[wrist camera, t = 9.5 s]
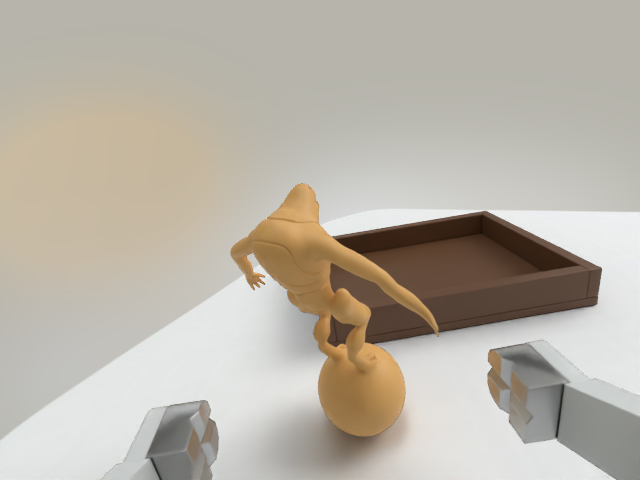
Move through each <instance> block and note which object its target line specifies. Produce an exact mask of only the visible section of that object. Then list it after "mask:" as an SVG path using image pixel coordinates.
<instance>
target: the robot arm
mask: <svg viewBox="0 0 640 480" xmlns="http://www.w3.org/2000/svg"><path fill="white" fill-rule="evenodd" d="M488 362H489V363H490V365H491V366H492V368H491V370H490V371H489V372H488V386H489V390H490V393H491V395H492V397H493V399H494V401H495V403H496V404H497V406H498V407H499V408H500V409H501V410H503V411H505V412H507V413H509V423H510V424H511V425H512V427H513V428H514V430H515V431H516V432H517V434H518V435H519V437H520V438H521V439H522V441H523V442H524V444H526V443H532V442H539V441H546V440H552V439H557V441H559V442H560V443H562V444H563V445H565V446H566V447H568V448H569V449H571V450H572V451H574V452H575V453H577V454H578V455H580V456H581V457H583V458H584V459H586V460H587V461H589V462H590V463H592V464H593V465H595V466H596V467H598V468H599V469H601V470H602V471H604V472H605V473H607V474H609V475H610V476H612V477H613V478H615V479H616V480H640V396H639V395H636V394H634V393H631V392H629V391H626V390H624V389H621V388H619V387H616V386H613V385H611V384H608V383H606V382H603V381H601V380H598V379H589V378H588V377H587V376H586V375H584V374H583V373H582V372H581V371H580V370H579V369H578V368H576V367H575V366H574V365H573V364H572V363H571V362H570V361H569V360H567V359H566V358H565V357H564V356H563V355H562V354H561V353H559V352H558V351H557V350H556V349H555V348H554V347H553V346H551V345H550V344H549V343H548V342H546V341H544V340H538V341H533V342H528V343H524V344H519V345H513V346H508V347H502V348H497V349H492V350H490V351H489V353H488ZM210 412H211V409H210V406H209V404H208V401H205V400H202V401H195V402H188V403H182V404H175V405H170V406H165V407H158V408H152V409H151V410H150V411H149V412H148V413H147V415H146V417H145V419H144V421H143V423H142V425H141V427H140V429H139V431H138V433H137V435H136V437H135V439H134V441H133V443H132V445H131V447H130V449H129V451H128V453H127V455H126V457H125V459H124V461H123V463H120V464H116V465H115V466H114V467H113V468H112V469H111V470H110V471H109V472H108V473H107V474H106V475H104V476H103V477H102V478H101V479H100V480H212V476H213V475H212V472H211V470H210V466H211V465H212V464H213V462H214V461H215V460H216V458H217V453H218V441H219V436H218V430H217V426H216V423H215V422H214V421H213V420H211V419H210V418H209V416H210Z"/></svg>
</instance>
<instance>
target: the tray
mask: <svg viewBox="0 0 640 480" xmlns="http://www.w3.org/2000/svg"><path fill="white" fill-rule="evenodd" d="M332 238H334V239H335V240H336V241H337V242H339V243H340V244H341V245H343V246H345V247H346V248H348V249H351V250H353V251H355V252H357V253H359V254H360V255H362V256H364V257H365V258H367V259H368V260H370V261H371V262H373V263H374V264H376V265H377V266H378V267H380V268H381V269H383V270H384V271H386V272H387V273H388V274H389V275H390V276H391V277H392V278H393V279H394V281H395V282H396V283H397V284H398V285H400V286H402V287H404V288H405V289H407V290H408V291H410V292H411V293H412V294H414V295H415V296H416V297H417V298H418V299H419V300H420V301H421V302H422V303H423V304H424V305H425V306H426V307H427V308H428V309H429V311H430V312H431V314H432V315H433V317H434V319H435V321H436V324H437V326H438V329H439V330H438V332H440V331H446V330H452V329H458V328H463V327H469V326H475V325H481V324H486V323H492V322H498V321H504V320H509V319H515V318H521V317H527V316H532V315H538V314H544V313H550V312H555V311H561V310H567V309H573V308H578V307H584V306H590V305H596V304H597V301H598V292H599V286H600V279H601V272H602V268H600V267H598V266H596V265H594V264H592V263H590V262H588V261H586V260H584V259H582V258H580V257H578V256H576V255H574V254H572V253H570V252H568V251H566V250H564V249H562V248H560V247H558V246H556V245H554V244H552V243H550V242H548V241H546V240H544V239H542V238H540V237H538V236H536V235H534V234H532V233H529V232H527V231H525V230H523V229H521V228H519V227H517V226H515V225H513V224H511V223H509V222H507V221H505V220H503V219H501V218H499V217H497V216H495V215H493V214H491V213H489V212H487V211H482V212H476V213H470V214H464V215H458V216H452V217H446V218H440V219H434V220H429V221H423V222H417V223H411V224H405V225H399V226H393V227H387V228H381V229H375V230H369V231H363V232H357V233H351V234H345V235H339V236H333V237H332ZM329 278H330V284H331V289H332V291H333V292H334V293H336V291H337V290H338V289H341V288H344V289H346V290H347V291H348V292H349V293H350V295H351V296H352V297H354V298H355V299H356V300H357V301H359V302H360V303H362V304H365V305H366V306H367V307H368V308H369V309H370V311H371V316H370V319H369V321H368V324H367V327H366V331H365V343H370V344H371V343H377V342H383V341H388V340H394V339H400V338H406V337H411V336H417V335H423V334H429V333H434V332H435V331H434V329H433V328H432V327H431V326H430V325H429V323H428V322H427V321H426V320H425V319H424V318H422V317H421V316H420V315H419V314H417V313H415V312H413V311H411V310H409V309H408V308H406V307H404V306H403V305H401V304H400V303H398V302H397V301H396V300H394V299H393V298H392V297H390V296H389V295H387V294H386V293H385V292H384V291H383V290H382V289H381V288H380V287H379V286H378V285H377V284H376V283H374V282H371V281H368V280H366V279H363V278H361V277H359V276H357V275H355V274H352V273H351V272H349V271H347V270H345V269H343V268H341V267H339V266H337V265H335V264H333V263H331V265H330V276H329ZM355 327H356V325H352V324H348V323H347V324H344V323H341V322H339V321H338V320H336V319H335V318H334V317H333V316H332V314H331V319H330V335H329V337H328V339H327V342H328V343H329V344H330V345H332V346H334V347H337V346H338V345H340V344H344V345H346V339H347V337H348V335H349V333H350V332H351V331H352V330H353V329H354V328H355Z"/></svg>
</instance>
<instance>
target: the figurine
mask: <svg viewBox="0 0 640 480" xmlns="http://www.w3.org/2000/svg"><path fill="white" fill-rule="evenodd" d="M318 220H319V204H318V202H317V201H316V195H315V192H314V190H313V189H312V188H311V187H310V186H308V185H307V184H303V183H301V184H298V185H296V186H295V187H294V188H293V189H292V190H291V191H290V193H289V194H288V196H287V197H286V199H285V201H284V202H283V204H282V205H281V206H280V207H279V208H278V209H277V210H276V211H275V212H274V213H272V214H271V215H270V216H269V217H268V218H267V219H265V220H263V221H262V222H261V223H260V224H259V225H258V226H257V227H256V228H255V229H254V230H253V231H252V232H251V233H250V234H249V236H248V237H246V238H244V239H242V240H240V241H239V242H238V243H236V244H235V245H234V246H233V247H232V249H231V256H232V258H233V260H234V261H235V262H236V263H237V265H238V266H239V268H240V269H241V271H242V272H243V273H244V274H245V276H246V279H247V282H248V283H249V284H250V286H251V287H252V289H253V290H255V288H254V286H253V284H255V285H256V286H257V287H258V288H260V286H259V284H258V283H257V282H260V283H262V284H264V285H265V283H264V282H263V281H262V280H261V279H260V278H259V277H265V276H264V275H262V274H259V273H254V272H253V268H252V265H251V263H250V261H249V260H248V259H247V256H246V255H249V254H252V253H254V255H255V257H256V259H257V260H258V262H259V263H260V265H261V266H262V267H263V268H264V270H265V271H266V272H267V273H268V274H269V275H270V276H271V277H272V278H274V279H275V280H276V281H277V282H278V283H279V284H280V285H281V286H282V287H284V288H285V289H287V294H288V298H289V300H290V302H291V303H292V304H294V305H295V306H297V307H298V308H299V310H300V311H301V312H304V313H311V314H315V315H320V319H319V320H318V322H317V323H316V325H315V327H314V332H313V334H314V338H315V340H316V341H317V342H318V346H319V349H320V350H321V351H322V352H323V353H324V354H326V355H327V356H329V357H328V358H327V360H326V361H325V363H324V365H323V367H322V369H321V372H320V375H319V381H318V393H319V399H320V403H321V405H322V408H323V410H324V412H325V414H326V415H327V417H328V418H329V419H330V421H331V422H332V423H333V424H334V425H335V426H337V427H338V428H339V429H341V430H342V431H344V432H346V433H348V434H351V435H355V436H373V435H376V434H379V433H381V432H383V431H385V430H386V429H388V428H389V427H390V426H391V425H392V424H393V423H394V422H395V421H396V420H397V418H398V417H399V415H400V413H401V411H402V408H403V405H404V401H405V382H404V378H403V374H402V372H401V370H400V368H399V366H398V364H397V363H396V361H395V360H394V359H393V357H392V356H391V355H390V354H389V353H387V352H386V351H385V350H383V349H382V348H380V347H378V346H376V345H374V344H370V343H365V331H366V327H367V324H368V321H369V319H370V316H371V311H370V309H369V308H368V307H367V306H366V305H365V304H362V303H360V302H359V301H357V300H356V299H355V298H354V297H352V296H351V295H350V293H349V292H348V291H347V290H346V289H344V288H341V289H338V290H337V291H336V293H334V292H333V291H332V289H331V284H330V278H329V276H330V265H331V263H333V264H335V265H337V266H339V267H341V268H343V269H345V270H347V271H349V272H351V273H352V274H355V275H357V276H359V277H361V278H363V279H366V280H368V281H371V282H374V283H376V284H377V285H378V286H379V287H380V288H381V289H382V290H383V291H384V292H385V293H386V294H387V295H389V296H390V297H392V298H393V299H394V300H396V301H397V302H398V303H400V304H401V305H403V306H404V307H406V308H408V309H409V310H411V311H413V312H415V313H417V314H419V315H420V316H421V317H422V318H424V319H425V320H426V321H427V322H428V323H429V325H430V326H431V327H432V328H433V329H434V331H435V333H436V335H437V337H439V334H438V330H439V329H438V326H437V324H436V321H435V319H434V317H433V315H432V314H431V312H430V311H429V309H428V308H427V307H426V306H425V305H424V304H423V303H422V302H421V301H420V300H419V299H418V298H417V297H416V296H415V295H414V294H412V293H411V292H410V291H408V290H407V289H405V288H404V287H402V286H400V285H398V284H397V283H396V282H395V281H394V279H393V278H392V277H391V276H390V275H389V274H388V273H387V272H386V271H384V270H383V269H381V268H380V267H378V266H377V265H376V264H374V263H373V262H371V261H370V260H368V259H367V258H365V257H364V256H362V255H360V254H359V253H357V252H355V251H353V250H351V249H348V248H346V247H345V246H343V245H341V244H340V243H339V242H337V241H336V240H335V239H334V238H332V237H331V236H330V235H329V234H327V232H326V231H325V230H324V229H323V228H322V227H321V226H320V224H319V221H318ZM331 314H332V316H333V317H334V318H335V319H336V320H338V321H339V322H341V323H344V324H347V323H348V324H352V325H356V327H355V328H354V329H353V330H352V331H351V332H350V333H349V335H348V337H347V339H346V345H344V344H340V345H338V346H337V347H334V346H332V345H330V344H329V343H328V342H327V339H328V337H329V335H330V319H331Z"/></svg>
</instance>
